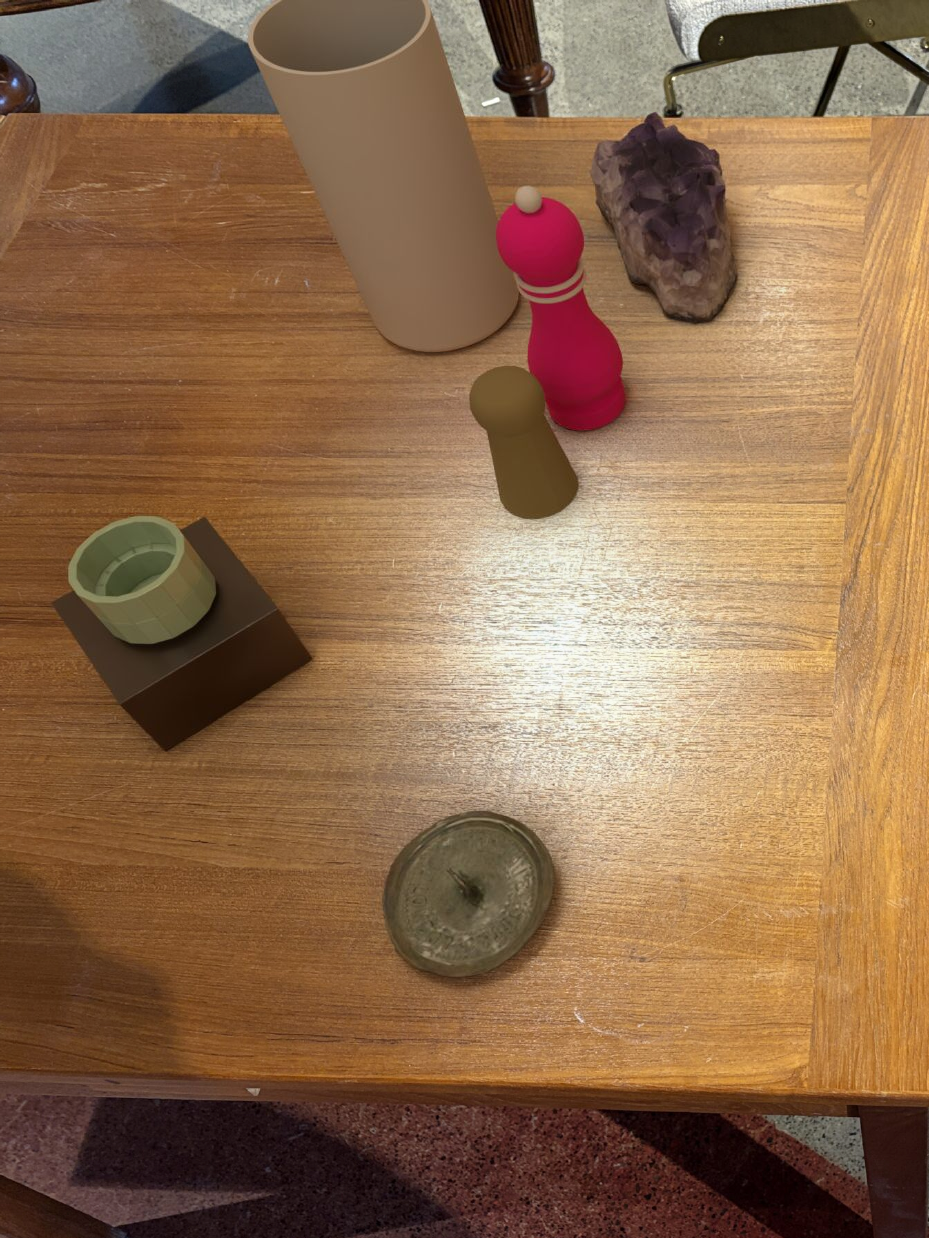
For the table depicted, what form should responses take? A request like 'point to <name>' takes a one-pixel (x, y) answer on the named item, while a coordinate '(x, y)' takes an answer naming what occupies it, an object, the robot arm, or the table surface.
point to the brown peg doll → (522, 443)
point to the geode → (668, 217)
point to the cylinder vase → (390, 163)
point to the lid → (467, 894)
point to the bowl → (142, 579)
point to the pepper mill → (561, 313)
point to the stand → (194, 650)
